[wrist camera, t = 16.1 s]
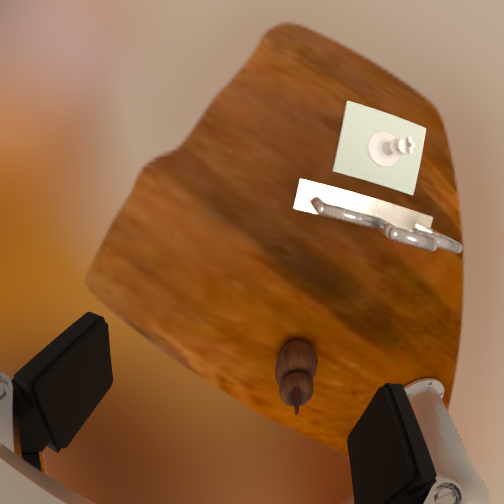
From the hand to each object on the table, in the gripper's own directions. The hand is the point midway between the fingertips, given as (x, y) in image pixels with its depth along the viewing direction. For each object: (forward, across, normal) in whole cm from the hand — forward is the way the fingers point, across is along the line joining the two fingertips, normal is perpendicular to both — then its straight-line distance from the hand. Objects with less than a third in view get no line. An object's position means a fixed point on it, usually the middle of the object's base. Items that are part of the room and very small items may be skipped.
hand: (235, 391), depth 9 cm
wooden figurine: (+32, -8, +20) cm, 39 cm away
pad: (+32, -12, -13) cm, 37 cm away
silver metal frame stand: (+32, -12, -4) cm, 35 cm away
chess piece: (+32, -12, -13) cm, 36 cm away
